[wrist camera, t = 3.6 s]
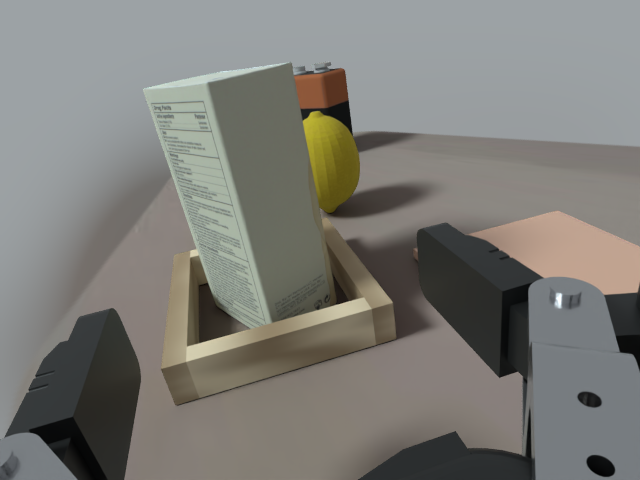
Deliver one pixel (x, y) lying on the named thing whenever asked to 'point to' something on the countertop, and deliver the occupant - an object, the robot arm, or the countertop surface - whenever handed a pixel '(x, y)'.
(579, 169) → the countertop surface
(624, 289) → the terracotta tile
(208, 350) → the square wooden frame
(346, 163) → the lemon
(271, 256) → the skincare box
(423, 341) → the countertop surface
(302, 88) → the battery
